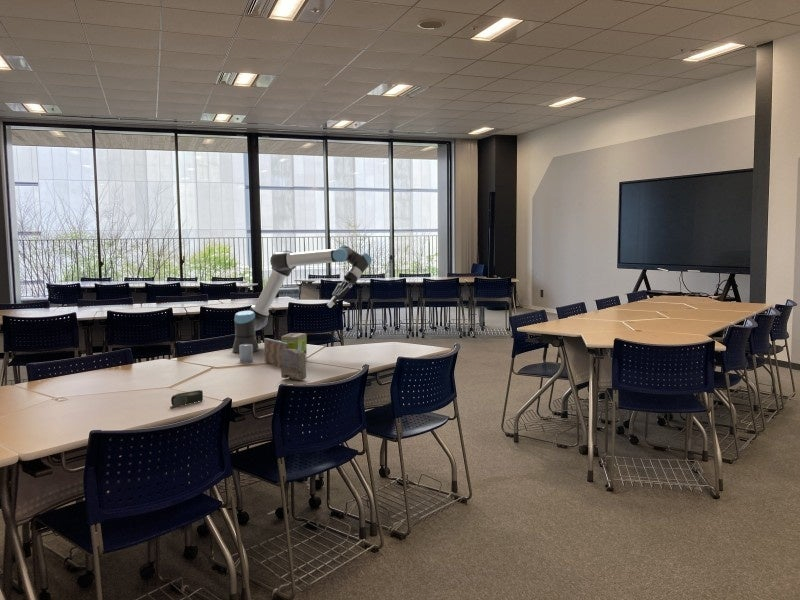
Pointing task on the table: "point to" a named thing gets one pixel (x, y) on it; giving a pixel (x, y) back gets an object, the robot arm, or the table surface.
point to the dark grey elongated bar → (186, 398)
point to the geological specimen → (293, 364)
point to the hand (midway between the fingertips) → (328, 306)
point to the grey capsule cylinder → (246, 352)
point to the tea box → (296, 341)
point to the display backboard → (274, 350)
